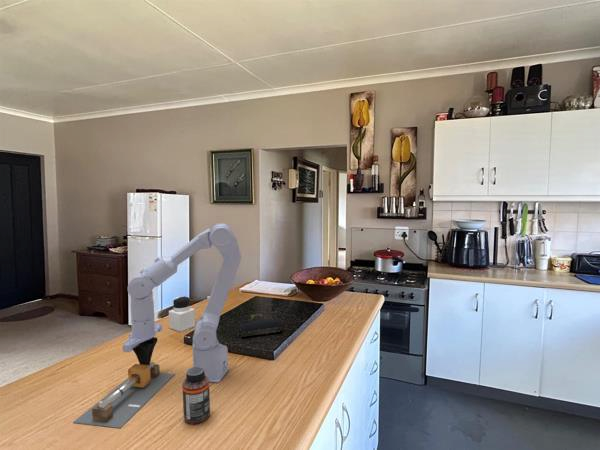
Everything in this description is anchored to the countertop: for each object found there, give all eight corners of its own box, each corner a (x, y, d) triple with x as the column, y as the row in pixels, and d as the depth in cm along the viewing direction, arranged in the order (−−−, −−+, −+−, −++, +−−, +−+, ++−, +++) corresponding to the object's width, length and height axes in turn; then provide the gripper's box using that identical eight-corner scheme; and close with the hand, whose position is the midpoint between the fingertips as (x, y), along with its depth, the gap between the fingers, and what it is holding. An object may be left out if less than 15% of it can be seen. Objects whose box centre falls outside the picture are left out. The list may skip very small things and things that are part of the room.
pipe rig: (175, 374, 97) (174, 360, 96) (120, 428, 74) (119, 410, 74) (137, 371, 99) (136, 357, 98) (73, 422, 76) (72, 405, 76)
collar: (150, 381, 91) (149, 365, 91) (143, 387, 89) (143, 370, 88) (135, 380, 92) (135, 363, 92) (128, 386, 89) (127, 369, 89)
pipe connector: (236, 315, 131) (273, 310, 136) (237, 328, 132) (273, 323, 137) (241, 326, 120) (281, 321, 125) (242, 340, 121) (281, 334, 126)
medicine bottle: (195, 326, 133) (194, 296, 132) (180, 332, 127) (179, 301, 126) (184, 322, 137) (183, 294, 136) (168, 328, 131) (167, 298, 130)
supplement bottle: (187, 409, 81) (185, 364, 80) (212, 407, 81) (210, 363, 80) (180, 425, 75) (178, 377, 74) (207, 424, 75) (206, 376, 75)
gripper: (146, 308, 99) (147, 352, 100) (110, 327, 85) (113, 378, 86) (167, 309, 98) (169, 354, 99) (135, 328, 84) (138, 380, 85)
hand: (145, 365), depth 93 cm, fingers closed
